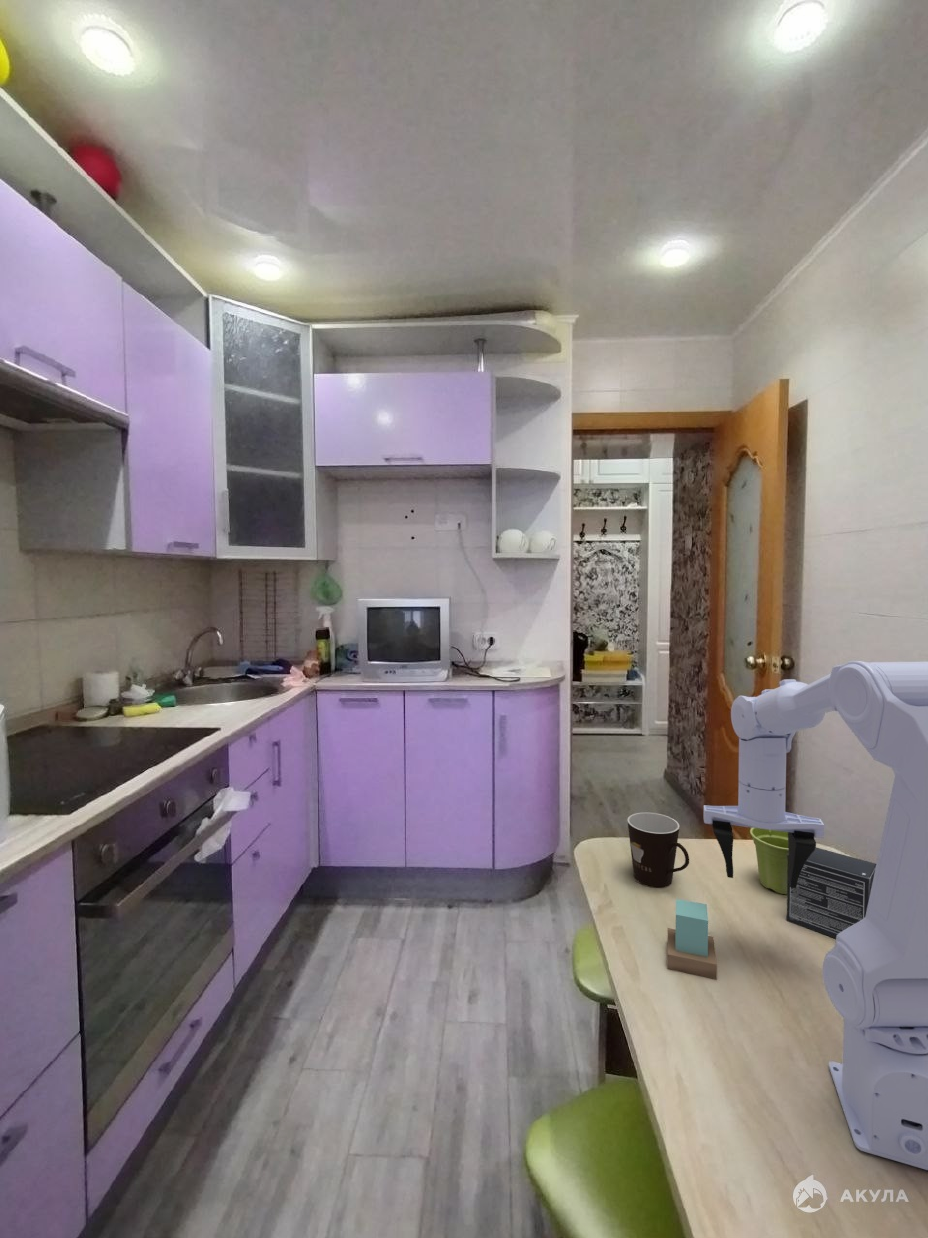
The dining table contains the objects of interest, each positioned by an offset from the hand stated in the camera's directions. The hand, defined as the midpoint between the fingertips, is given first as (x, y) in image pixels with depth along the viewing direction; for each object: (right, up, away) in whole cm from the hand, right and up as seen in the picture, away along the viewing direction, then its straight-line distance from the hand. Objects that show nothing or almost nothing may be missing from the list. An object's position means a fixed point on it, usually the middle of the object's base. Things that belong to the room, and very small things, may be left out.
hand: (760, 879), depth 76 cm
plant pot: (+13, -10, +17) cm, 23 cm away
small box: (+14, -10, +6) cm, 18 cm away
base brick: (-10, -11, -1) cm, 15 cm away
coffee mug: (-8, -10, +19) cm, 22 cm away
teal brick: (-10, -9, -1) cm, 13 cm away
